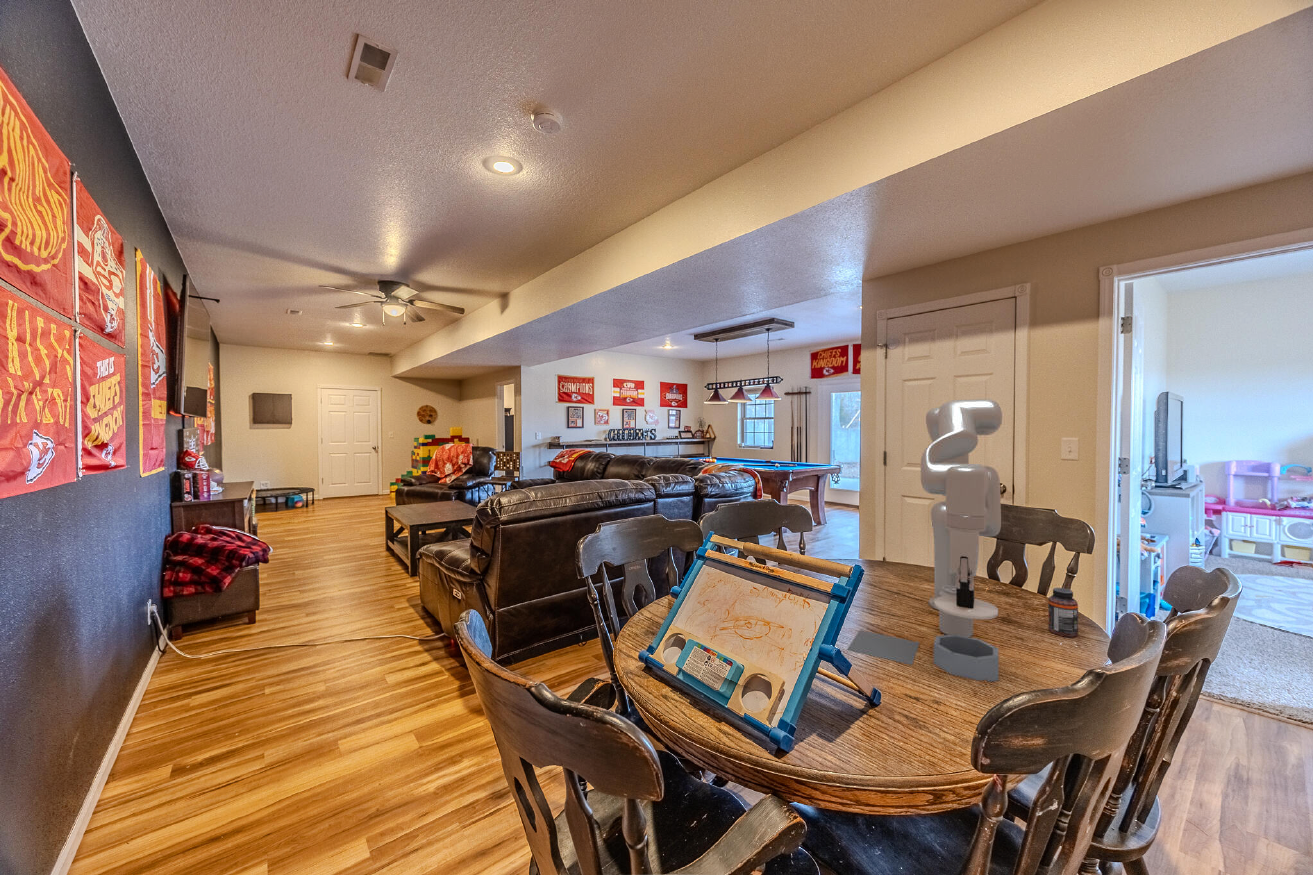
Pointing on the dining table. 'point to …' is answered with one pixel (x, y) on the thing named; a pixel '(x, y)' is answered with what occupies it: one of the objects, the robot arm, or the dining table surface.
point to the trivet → (884, 647)
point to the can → (954, 618)
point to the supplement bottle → (1063, 613)
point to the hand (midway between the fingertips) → (965, 603)
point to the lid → (978, 612)
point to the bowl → (967, 657)
